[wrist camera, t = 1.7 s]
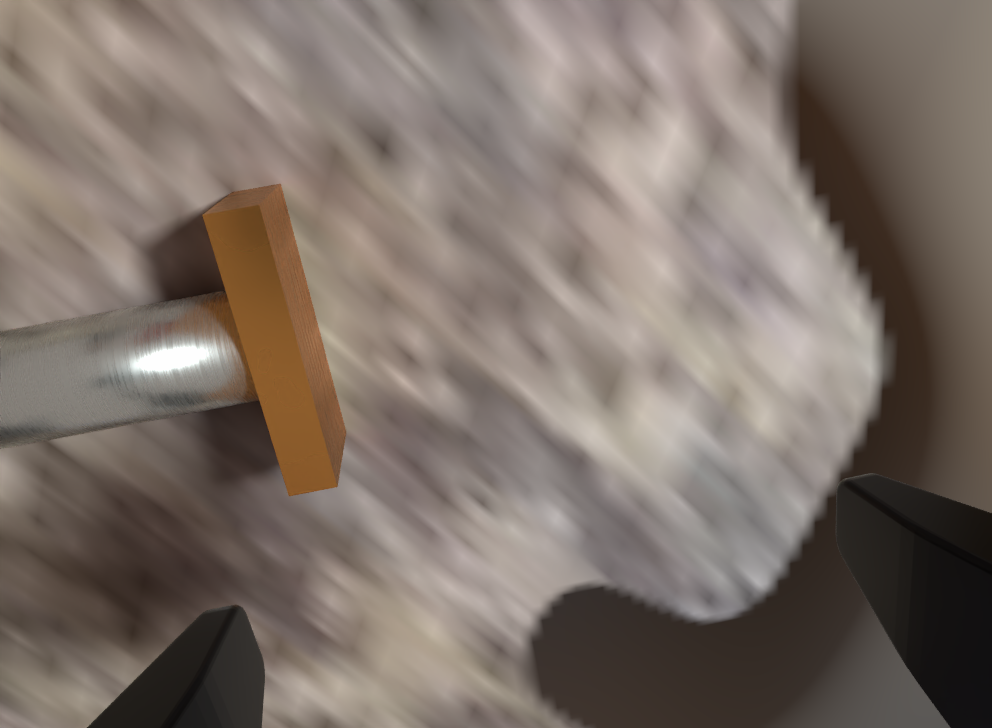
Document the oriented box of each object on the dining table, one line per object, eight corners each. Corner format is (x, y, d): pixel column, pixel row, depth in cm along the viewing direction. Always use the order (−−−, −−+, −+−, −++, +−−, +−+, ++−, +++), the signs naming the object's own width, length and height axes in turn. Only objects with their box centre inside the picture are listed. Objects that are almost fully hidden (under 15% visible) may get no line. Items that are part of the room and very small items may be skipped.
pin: (280, 183, 19) (258, 204, 16) (346, 431, 21) (337, 486, 19) (-139, 257, 18) (-236, 292, 16) (-19, 501, 21) (-84, 568, 18)
